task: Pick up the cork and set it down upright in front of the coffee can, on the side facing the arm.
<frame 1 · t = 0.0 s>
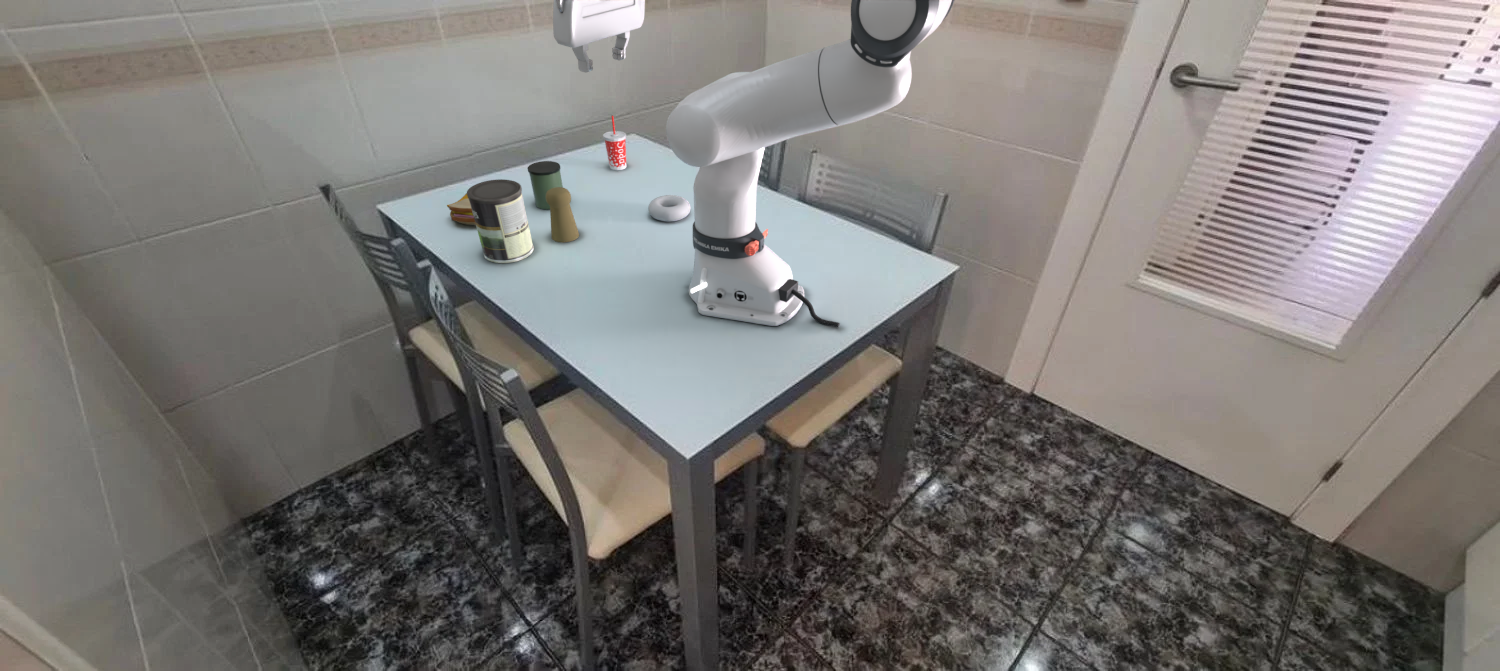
hand: (603, 64, 104), 39 cm above the table, tool pointing down, fingers open, 8 cm apart
toy sandwich meal: (480, 216, 144), on the table
coffee can: (509, 252, 130), on the table
beverage cup: (618, 167, 169), on the table
olive tin: (550, 203, 150), on the table
donut: (669, 215, 146), on the table
cork: (565, 236, 136), on the table
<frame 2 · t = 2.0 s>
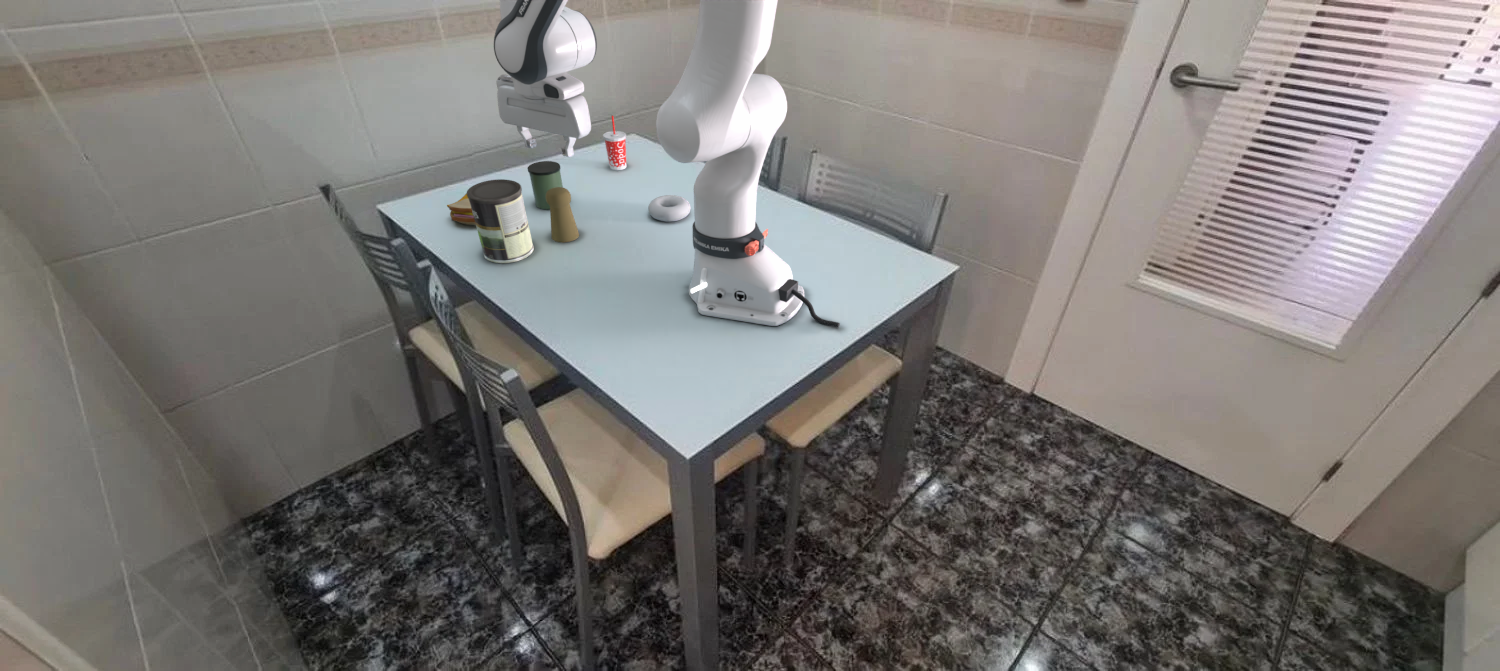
hand: (549, 151, 125), 19 cm above the table, tool pointing down, fingers open, 8 cm apart
nothing on the table moved.
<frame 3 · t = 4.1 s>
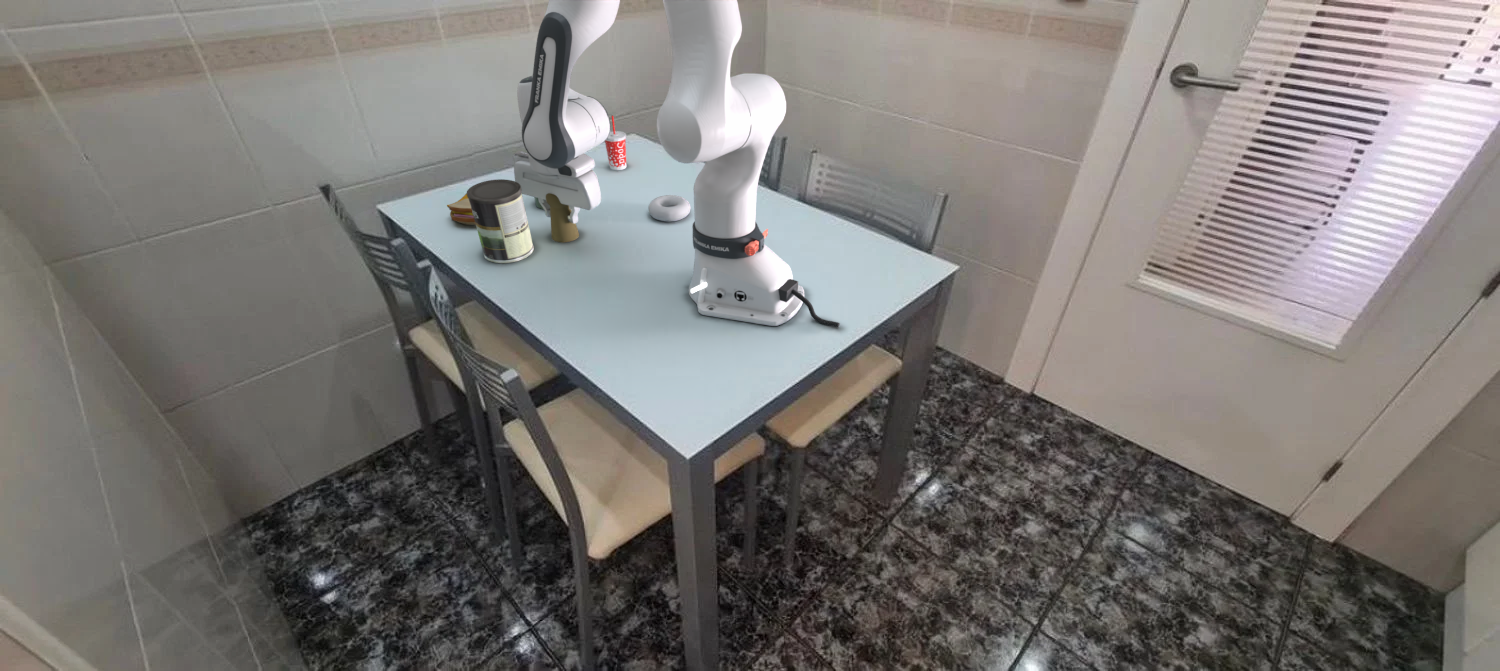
hand: (562, 219, 134), 4 cm above the table, tool pointing down, fingers closed on cork, 4 cm apart
cork: (565, 236, 136), on the table, touching gripper
everything else where it was.
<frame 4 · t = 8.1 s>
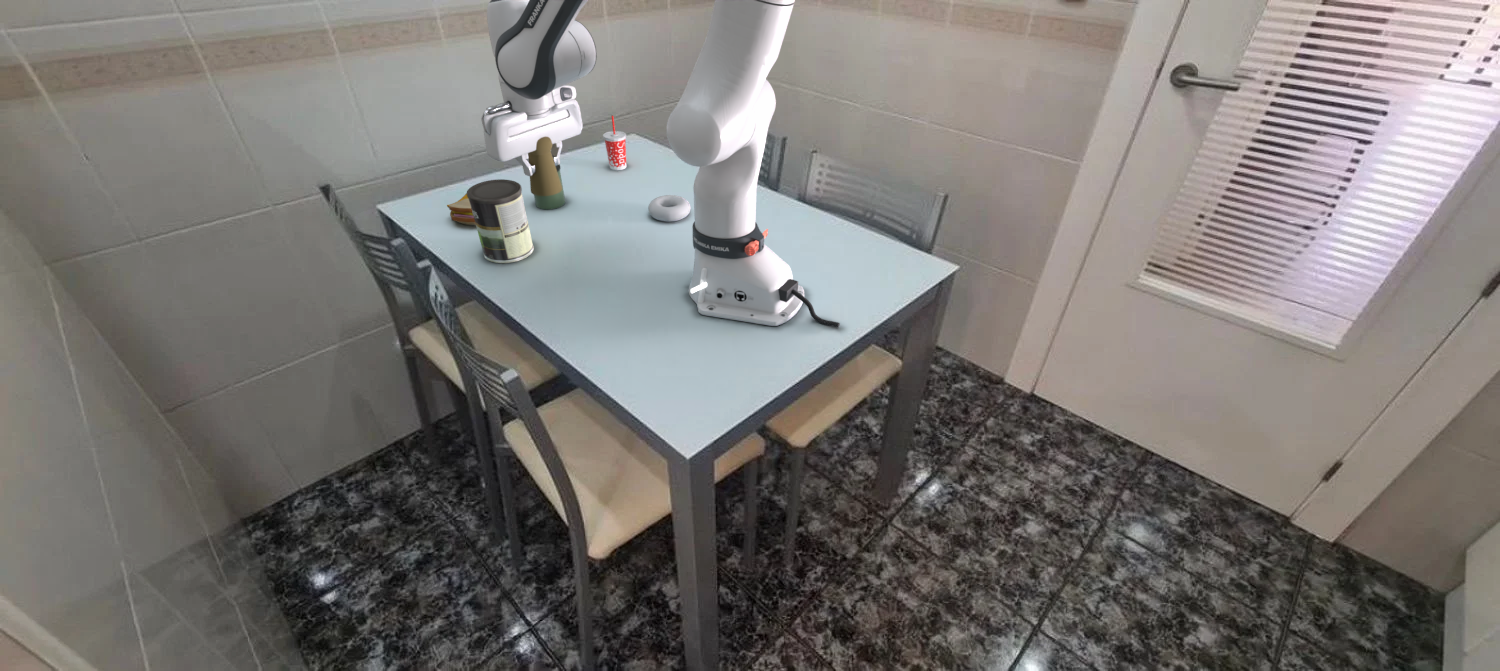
hand: (543, 169, 118), 19 cm above the table, tool pointing down, fingers closed on cork, 4 cm apart
cork: (546, 190, 121), point 14 cm above the table, touching gripper
everything else where it was.
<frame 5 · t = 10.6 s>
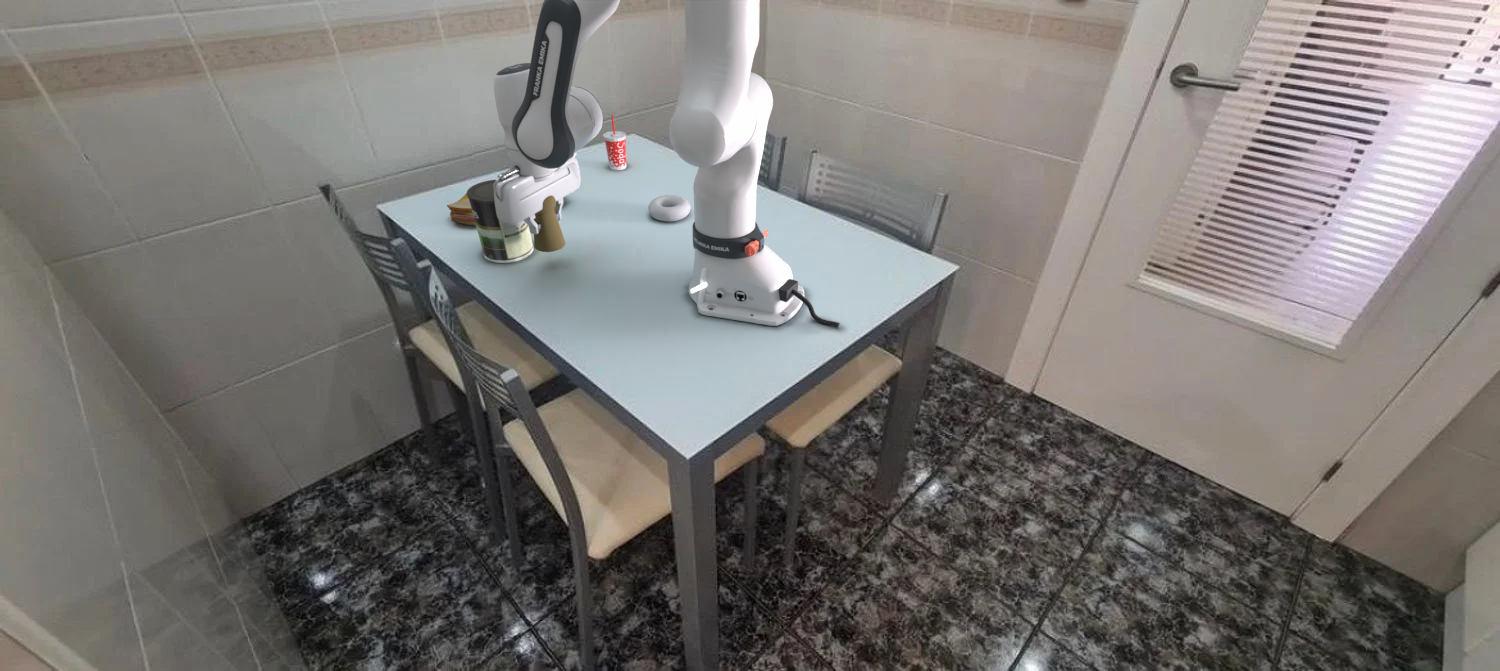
hand: (546, 226, 121), 9 cm above the table, tool pointing down, fingers closed on cork, 4 cm apart
cork: (550, 245, 124), point 4 cm above the table, touching gripper
everything else where it was.
when the fingers open (4 cm above the table, at t = 12.2 s): cork stays where it is, on the table.
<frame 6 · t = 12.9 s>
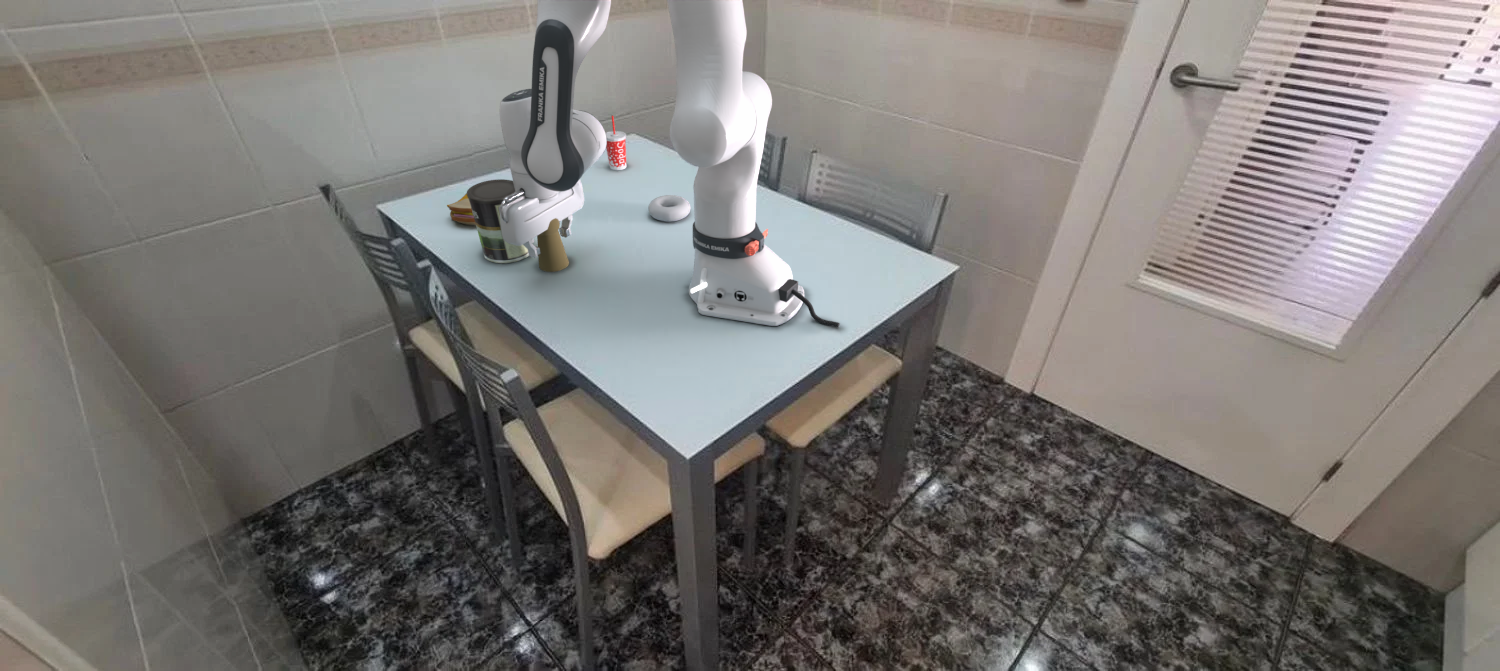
hand: (551, 245, 124), 4 cm above the table, tool pointing down, fingers open, 8 cm apart
cork: (554, 265, 126), on the table
everything else where it was.
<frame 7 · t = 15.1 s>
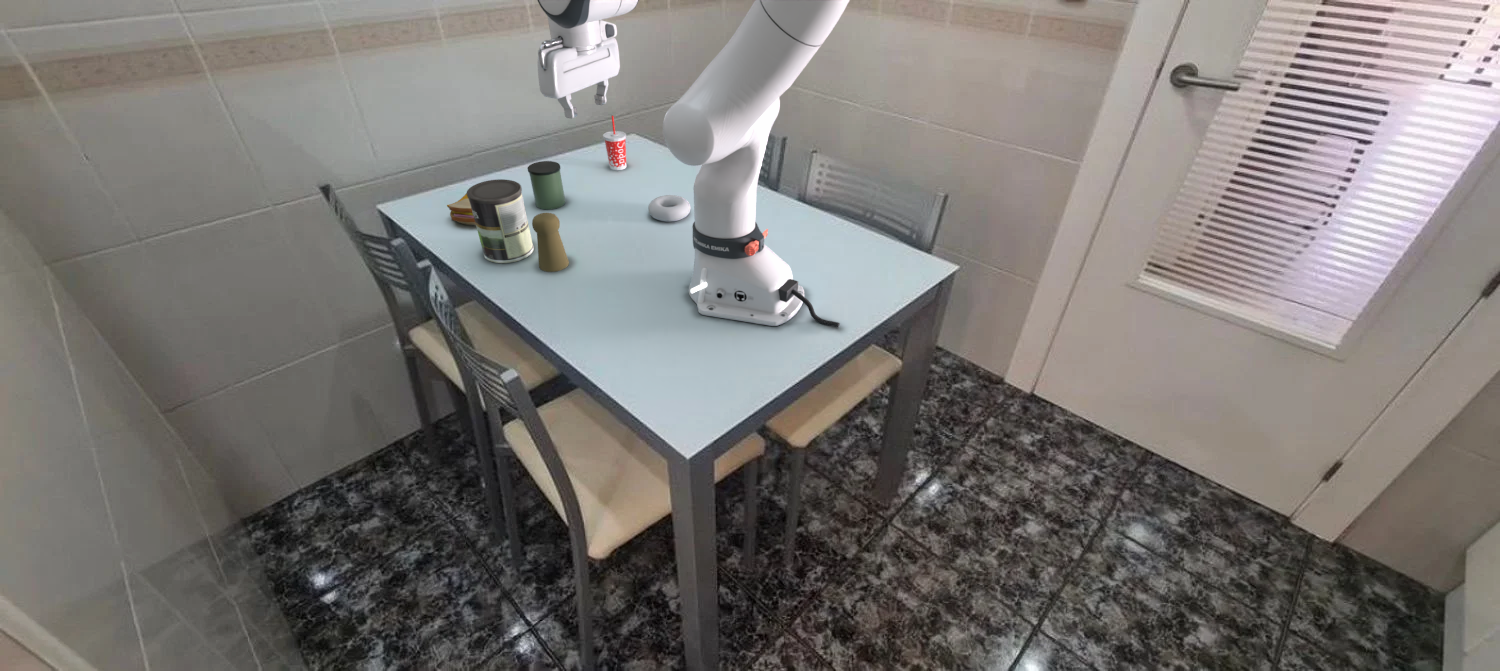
hand: (586, 110, 118), 28 cm above the table, tool pointing down, fingers open, 8 cm apart
nothing on the table moved.
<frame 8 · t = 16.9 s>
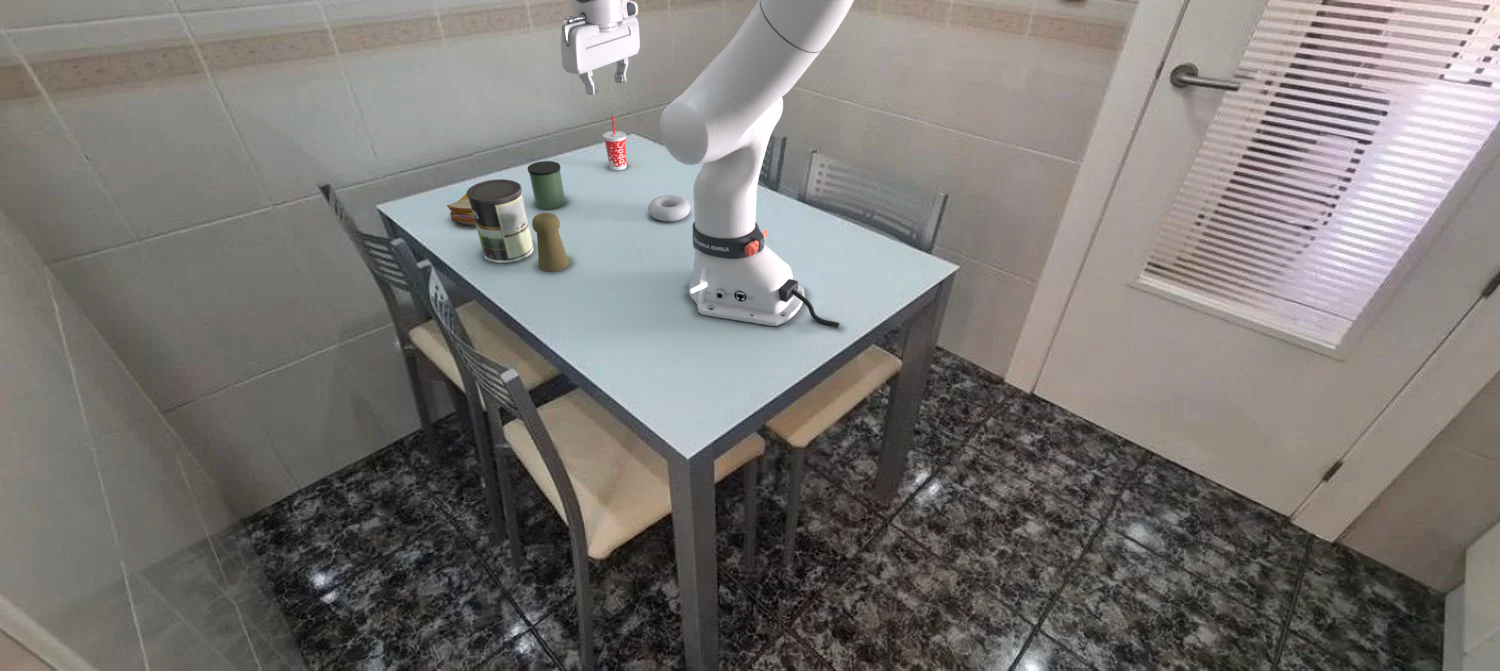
hand: (606, 88, 120), 31 cm above the table, tool pointing down, fingers open, 8 cm apart
nothing on the table moved.
at the end: cork inside the target area on the table beside the coffee can (0.3 cm from its centre), on the table; cork tilted 0°; coffee can moved 0.2 cm from its start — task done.
